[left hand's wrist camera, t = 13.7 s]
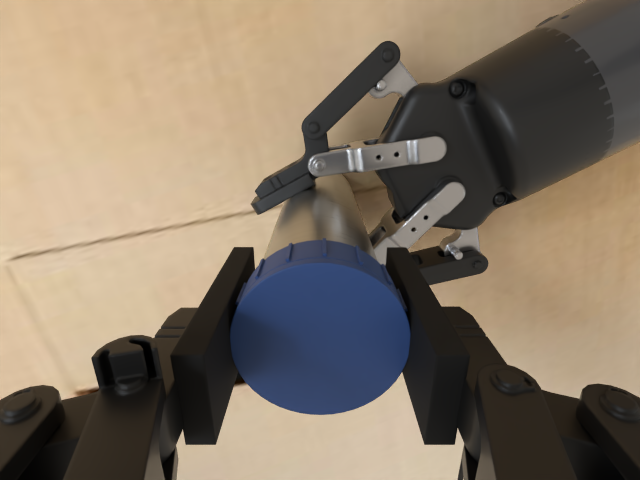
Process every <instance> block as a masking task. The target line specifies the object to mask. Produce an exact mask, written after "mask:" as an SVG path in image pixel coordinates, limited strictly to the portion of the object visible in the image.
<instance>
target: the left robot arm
mask: <svg viewBox="0 0 640 480" xmlns="http://www.w3.org/2000/svg"><path fill="white" fill-rule="evenodd" d="M254 270H255V264H254V249H253V247H234V248H233V250H232V252H231V253H230V255H229V257H228V259H227V260H226V262H225V264H224V265H223V267H222V269H221V270H220V272H219V274H218V275H217V277H216V279H215V280H214V282H213V284H212V285H211V287H210V289H209V291H208V292H207V294H206V296H205V297H204V299H203V301H202V302H201V304H200V306H199V307H198V308H180V309H179V310H177V311H176V312H174V313H173V314H171V315H170V316H169V317H168V318H167V319H166V321H165V322H164V324H163V325H162V326H161V329H159V331H158V332H157V333H156V335H155V338H151V337H148V336H144V335H133V336H127V337H123V338H119V339H117V340H114V341H112V342H110V343H107V344H106V345H104V346H103V347H102V348H100V349H99V350H97V351H96V353H95V354H94V355H93V357H92V358H91V359H92V362H93V366H94V370H95V374H96V377H97V381H98V385H99V391H98V392H95V393H91V394H87V395H83V396H78V397H74V398H70V399H65V400H61V397H60V394H59V391H58V390H57V389H55V388H54V387H53V386H46V385H41V386H33V387H29V388H26V389H23V390H19V391H17V392H14V393H13V394H11V395H9V396H7V397H5V398H3V399H1V400H0V480H176V477H177V467H178V454H177V448H176V444H177V441H178V439H179V437H180V434H181V432H182V429H183V432H184V438H185V443H186V445H216V442H217V439H218V436H219V432H220V429H221V426H222V423H223V419H224V416H225V413H226V409H227V406H228V403H229V400H230V396H231V393H232V390H233V386H234V383H235V380H236V377H237V373H238V370H237V368H236V366H235V363H234V360H233V358H232V352H231V343H230V326H231V323H232V319H233V316H234V313H235V311H236V308H237V306H238V305H236V304H235V303H236V301H237V298H238V296H239V294H240V291H241V289H242V287H243V284H244V282H245V283H247V282H248V280H249V278H250V276H251V275H252V273H253V272H254ZM386 270H387V272H388V274H389V276H390V277H391V279H392V281H393V283H394V285H395V287H396V289H399V291H400V293H401V295H402V298H403V300H404V302H405V305H406V307H407V310H408V311H407V312H406V314H407V317H408V321H409V324H410V330H411V336H410V346H409V355H408V359H407V362H406V365H405V367H404V369H403V371H402V372H403V376H404V379H405V382H406V385H407V389H408V392H409V395H410V399H411V402H412V405H413V408H414V412H415V415H416V418H417V422H418V425H419V428H420V431H421V435H422V438H423V441H424V445H455V439H456V434H457V428H458V429H459V432H460V434H461V436H462V439H463V441H464V448H463V453H462V459H461V464H460V469H459V475H458V480H463V477H464V480H640V398H639V397H637V396H635V395H633V394H631V393H629V392H627V391H626V390H623V389H620V388H617V387H614V386H611V385H604V384H592V385H587V386H586V387H585V388H584V389H582V392H581V395H580V399H578V398H573V397H569V396H564V395H560V394H555V393H551V392H547V391H544V390H541V388H540V386H539V385H538V383H537V382H536V380H535V379H533V378H532V377H531V376H530V375H528V374H527V373H526V372H524V371H522V370H520V369H518V368H516V367H513V366H510V365H507V364H506V362H505V361H504V359H503V358H502V357H501V355H500V354H499V352H498V351H497V350H496V348H495V347H494V345H493V344H492V343H491V341H490V340H489V338H488V337H486V334H485V333H484V331H483V330H482V329H481V328H480V327H479V324H478V323H477V322H476V320H475V319H474V317H473V316H472V315H471V314H469V313H468V312H466V311H465V310H463V309H462V308H461V307H441V305H440V303H439V302H438V300H437V298H436V297H435V295H434V293H433V292H432V290H431V288H430V287H429V285H428V283H427V282H426V280H425V278H424V277H423V275H422V273H421V271H420V270H419V268H418V266H417V265H416V263H415V261H414V260H413V258H412V256H411V255H410V253H409V251H408V250H407V248H406V247H387V254H386Z"/></svg>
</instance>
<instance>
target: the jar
mask: <svg viewBox="0 0 640 480" xmlns="http://www.w3.org/2000/svg"><path fill="white" fill-rule="evenodd" d="M323 238H326V240H330V241H336V242H342V243H345V244H348V245H351V246H354V247H355V246H356V245H357V246H359V248H360V249H361V250H362V251H364V252H366V253H367V254H369V255H370V256H372V257H373V258H374V259H375V260H377V258H376V255H375V252H374V249H373V247H372V244H371V241H370V239H369V236H368V233H367V230H366V228H365V225H364V222H363V219H362V217H361V214H360V211H359V208H358V206H357V203H356V200H355V197H354V195H353V192H352V189H351V186H350V184H349V182H348V181H347V179H346V178H345V177H344V176H343V175H342V174H336V175H330V176H323V177H318V178H316V179H315V185H313V186H311V187H309V188H308V189H306V190H304V191H302V192H300V193H298V194H296V195H295V196H293V197H291V198H289V199H287V200H286V201H284V204H283V206H282V209H281V212H280V215H279V217H278V220H277V223H276V226H275V228H274V231H273V234H272V237H271V240H270V242H269V245H268V248H267V251H266V253H265V256H264V260H265V259H266V258H267V257H269V256H270V255H272V254H273V253H275V252H276V251H278V250H280V249H282V248H284V247H286V246H288V245H289V243H292V244H295V243H299V242H304V241H311V240H323ZM377 261H378V260H377Z"/></svg>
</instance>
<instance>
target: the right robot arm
mask: <svg viewBox="0 0 640 480" xmlns="http://www.w3.org/2000/svg"><path fill="white" fill-rule="evenodd" d="M399 59H400V50H399V47H398V46H397V45H396V44H395V43H394V42H391V41H385V42H383V43H381V44H380V45H379V46H378V47H377V48H376V49H375V50H374V51H373V52H372V53H371V54H370V55H369V56H368V57H367V58H366V59H365V60H364V61H363V62H361V63H360V64H359V65H358V66H357V67H356V68H355V69H354V70H353V71H352V72H351V73H350V74H349V75H348V76H347V77H346V78H345V79H344V80H343V81H342V82H341V83H340V84H339V85H338V86H337V87H336V88H335V89H334V90H333V91H332V92H331V93H330V94H329V95H328V96H327V97H326V98H325V99H324V100H323V101H322V102H321V103H320V104H319V105H318V106H317V107H316V108H315V109H314V110H313V111H312V112H311V113H310V114H309V115H308V116H307V117H306V118H305V119H304V121H303V123H302V132H303V136H304V142H305V149H306V150H305V154H304V155H303V157H301V158H300V159H298V160H297V161H295V162H293V163H291V164H290V165H288V166H286V167H284V168H282V169H281V170H279V171H277V172H275V173H274V174H272V175H270V176H268V177H266V178H265V179H264V180H263V181H262V182H261V184H260V185H259V186H258V188H257V189H256V190H255V192H256V194H257V195H258V196H257V197H255V198H254V200H253V201H252V203H251V205H252V207H253V208H254V210H255V212H256V213H257V215H259V214H261V213H263V212H265V211H267V210H269V209H271V208H273V207H275V206H276V205H278V204H280V203H282V202H284V201H286V200H287V199H289V198H291V197H293V196H295V195H296V194H298V193H300V192H302V191H304V190H306V189H308V188H309V187H311V186H313V185H315V179H316V178H318V177H323V176H330V175H336V174H342V173H348V172H366V171H372V170H375V171H376V173H377V175H378V176H379V178H380V179H381V180H382V181H383V182H384V184H385V185H386V186H387V191H388V197H389V200H390V202H391V204H392V206H393V207H392V208H391V209H390V210H389V211H388V212H387V213H386V214H385V215H384V216H383V218H382V219H381V222H380V223H379V225H378V226H377V227H376V228H375V229H374V230H373V231H372V232H371V233H370V234H369V235H368V236H369V239H370V241H371V244H372V247H373V249H374V252H375V255H376V258H377V260H378V262H379V263H380V264H384V265H385V267H386V254H387V247H406V248H407V249H408V248H410V247H411V246H412V245H413V244H414V243H415V242H416V241H417V240H418V239H419V238H420V237H421V236H422V235H423V234H424V233H425V232H427V231H428V230H429V229H430V228H431V227H432V226H433V227H441V228H450V229H455V231H454V233H453V234H452V235H450V236H449V237H446V238H444V239H443V240H442V241H441V243H440V246H436V247H432V248H427V249H423V250H419V251H415V252H410V255H411V256H412V258H413V260H414V261H415V263H416V265H417V266H418V268H419V270H420V271H421V273H422V275H423V277H424V278H425V280H426V282H427V283H428V285H432V284H437V283H441V282H445V281H450V280H454V279H459V278H463V277H468V276H472V275H476V274H480V273H482V272H484V271H485V270H486V269H487V267H488V260H487V258H486V257H485V256H484V255H482V253H481V252H480V247H479V238H478V229H477V227H478V226H479V225H481V224H482V223H483V222H484V221H485V219H486V218H487V217H488V216H489V215H490V214H491V213H492V212H493V211H494V210H495V209H497V208H499V207H501V206H504V205H506V204H509V203H513V202H516V201H518V200H521V199H523V198H525V197H527V196H529V195H531V194H533V193H535V192H537V191H539V190H541V189H543V188H546V187H548V186H550V185H552V184H554V183H556V182H558V181H560V180H562V179H564V178H566V177H568V176H570V175H572V174H574V173H576V172H578V171H581V170H583V169H585V168H587V167H589V166H591V165H593V164H595V163H597V162H599V161H601V160H603V159H605V158H607V157H609V156H612V155H614V154H616V153H618V152H620V151H622V150H624V149H626V148H628V147H630V146H632V145H634V144H637V143H639V142H640V0H586V1H584V2H582V3H580V4H578V5H576V6H575V7H573V8H571V9H569V10H567V11H565V12H564V13H562V14H560V15H556V16H554V17H550V18H548V19H546V20H545V21H543V22H542V23H540V24H539V25H538V26H536V27H535V29H534V30H531V31H530V32H528V33H526V34H524V35H523V36H521V37H519V38H517V39H515V40H514V41H512V42H510V43H508V44H507V45H505V46H503V47H501V48H499V49H498V50H496V51H494V52H492V53H491V54H489V55H487V56H485V57H483V58H482V59H480V60H478V61H476V62H475V63H473V64H471V65H469V66H467V67H466V68H464V69H462V70H460V71H459V72H457V73H455V74H453V75H451V76H450V77H448V78H446V79H444V80H442V81H440V82H437V83H421V84H417V82H416V81H415V80H414V78H413V77H412V76H411V74H410V73H409V72H408V71H407V69H406V68H405V67H404V65H403V64H402V63H401V61H400V60H399ZM390 93H394V94H397V95H398V96H399V97H400V98H399V100H398V102H397V104H396V106H395V108H394V110H393V112H392V114H391V116H390V118H389V120H388V122H387V124H386V126H385V128H384V130H383V131H382V133H381V135H380V137H377V138H371V139H365V140H359V141H353V142H349V143H346V144H341V145H335V146H329V147H328V140H327V131H328V130H329V129H330V128H331V127H332V126H333V125H335V124H336V123H337V122H338V121H339V120H340V119H341V118H342V117H343V116H344V115H345V114H346V113H347V112H348V111H349V110H350V109H351V108H352V107H353V106H354V105H355V104H356V103H357V102H358V101H359V100H361V99H362V98H363V97H364V96H365V95H366V94H368V95H369V96H370V97H372V98H375V99H377V98H383V97H385V96H386V95H388V94H390Z"/></svg>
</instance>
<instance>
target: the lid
mask: <svg viewBox="0 0 640 480" xmlns="http://www.w3.org/2000/svg"><path fill="white" fill-rule="evenodd" d="M235 304H236V305H238V306H237V308H236V311H235V313H234V316H233V319H232V323H231V326H230V343H231V352H232V358H233V360H234V363H235V366H236V368H237V370H238V371H239V373H240V375H241V376H242V378H243V379H244V380H245V382H246V383H247V384H248V385H249V386H250V387H251V388H252V389H253V390H254V391H255V392H256V393H258V394H259V395H260V396H261V397H263V398H264V399H266V400H268V401H269V402H271V403H273V404H275V405H277V406H279V407H282V408H285V409H287V410H290V411H295V412H299V413H305V414H315V415H326V414H336V413H342V412H346V411H350V410H353V409H356V408H359V407H361V406H364V405H366V404H367V403H369V402H371V401H373V400H375V399H376V398H378V397H379V396H381V395H382V394H383V393H384V392H385V391H387V390H388V389H389V388H390V387H391V386H392V385H393V383H394V382H395V381H396V380H397V378H398V377H399V376H400V374H401V373H402V371H403V369H404V367H405V365H406V362H407V359H408V355H409V346H410V336H411V330H410V324H409V321H408V317H407V314H406V312H407V311H408V310H407V307H406V305H405V302H404V300H403V298H402V295H401V293H400V291H399V289H396V287H395V285H394V283H393V281H392V279H391V277H390V276H389V274H388V272H387V270H386V267H385V265H384V264H380V263H379V262H378V261H377V260H375V259H374V258H373V257H372V256H370V255H369V254H367V253H366V252H364V251H362V250H361V249H360V248H359V246H357V245H356V246H355V247H354V246H351V245H348V244H345V243H342V242H336V241H330V240H326V238H323V240H311V241H304V242H299V243H295V244H292V243H289V245H288V246H286V247H284V248H282V249H280V250H278V251H276V252H275V253H273V254H272V255H270V256H269V257H267V258H266V259H265V260H264V259H262V260H261V261H260V264H259V266H258V267H257V268H256V269H255V270H254V272H253V273H252V275H251V276H250V278H249V280H248V282H247V283H245V282H244V284H243V287H242V289H241V291H240V294H239V296H238V298H237V301H236V303H235Z"/></svg>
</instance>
